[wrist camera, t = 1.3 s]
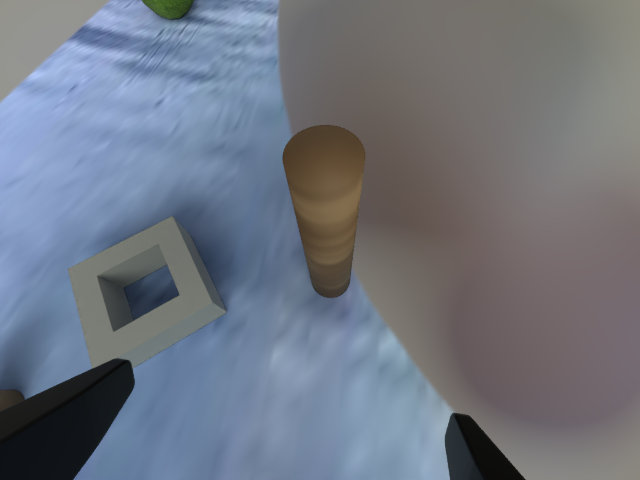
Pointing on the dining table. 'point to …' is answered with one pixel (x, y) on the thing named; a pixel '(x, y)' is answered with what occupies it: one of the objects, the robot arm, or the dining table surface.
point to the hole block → (128, 267)
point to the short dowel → (9, 398)
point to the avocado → (169, 7)
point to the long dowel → (326, 201)
